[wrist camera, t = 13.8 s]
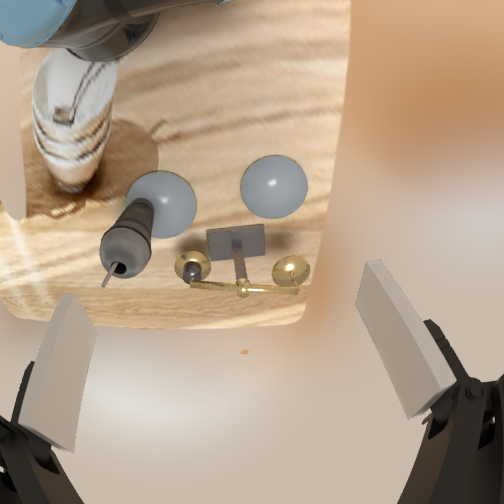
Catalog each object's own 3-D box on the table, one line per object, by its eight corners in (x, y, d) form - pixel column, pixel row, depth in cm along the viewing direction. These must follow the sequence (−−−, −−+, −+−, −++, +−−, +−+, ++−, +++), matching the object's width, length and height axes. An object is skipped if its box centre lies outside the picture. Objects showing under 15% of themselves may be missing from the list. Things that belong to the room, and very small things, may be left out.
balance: (174, 233, 49) (165, 293, 37) (294, 220, 51) (320, 275, 39) (181, 260, 53) (175, 321, 41) (293, 248, 54) (316, 305, 42)
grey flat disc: (120, 177, 42) (118, 179, 41) (191, 165, 43) (190, 168, 42) (136, 238, 49) (135, 242, 48) (200, 230, 50) (200, 234, 49)
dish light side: (238, 157, 43) (239, 159, 42) (306, 153, 44) (308, 155, 43) (242, 218, 49) (243, 221, 48) (304, 212, 50) (306, 216, 49)
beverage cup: (136, 235, 47) (108, 322, 31) (113, 202, 43) (68, 282, 27) (170, 217, 46) (153, 304, 30) (148, 182, 42) (112, 257, 26)
